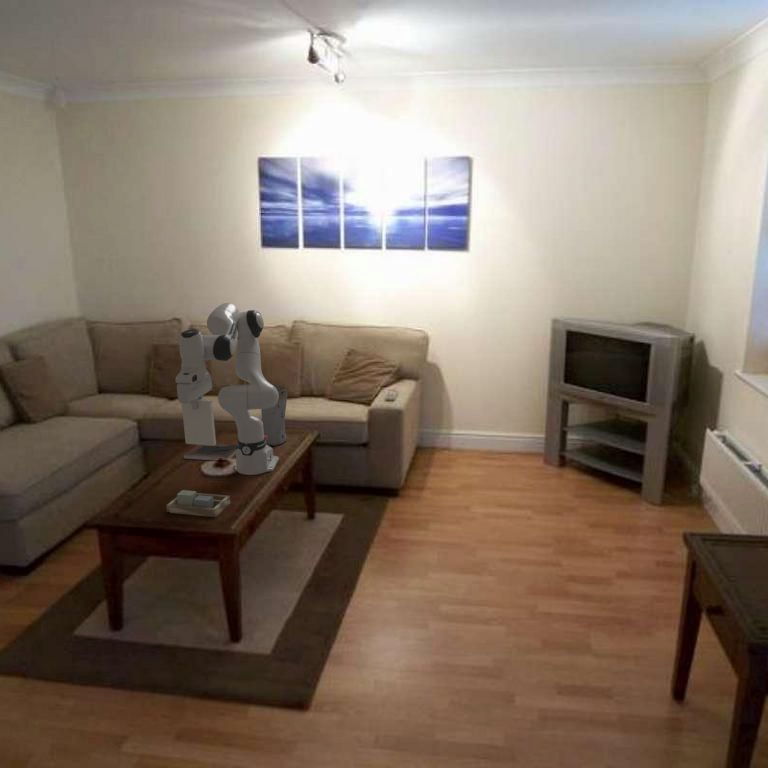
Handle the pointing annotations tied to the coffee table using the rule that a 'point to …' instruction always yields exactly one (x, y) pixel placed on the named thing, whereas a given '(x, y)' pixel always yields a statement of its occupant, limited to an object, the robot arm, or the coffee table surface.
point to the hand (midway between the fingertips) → (197, 408)
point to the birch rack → (219, 506)
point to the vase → (275, 419)
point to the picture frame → (212, 452)
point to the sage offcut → (186, 498)
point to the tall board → (199, 423)
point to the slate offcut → (204, 501)
